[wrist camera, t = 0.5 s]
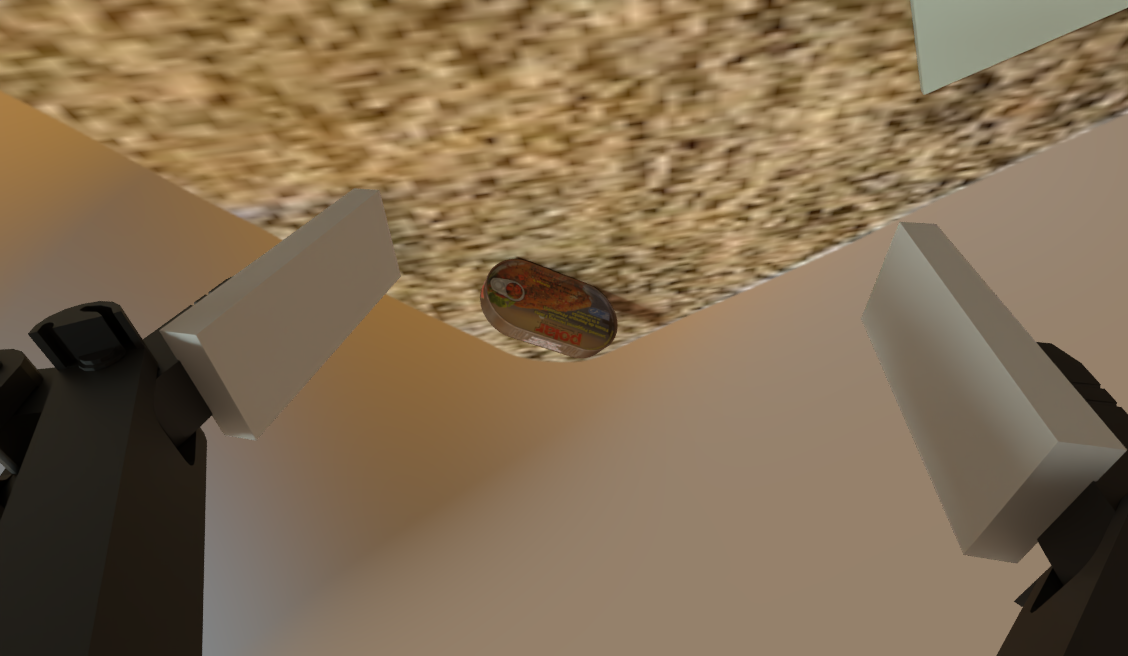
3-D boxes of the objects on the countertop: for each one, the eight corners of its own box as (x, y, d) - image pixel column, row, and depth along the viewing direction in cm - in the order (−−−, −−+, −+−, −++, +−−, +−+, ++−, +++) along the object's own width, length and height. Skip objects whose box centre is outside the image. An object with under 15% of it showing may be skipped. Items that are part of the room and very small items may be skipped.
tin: (619, 295, 58) (619, 358, 53) (604, 310, 60) (603, 372, 55) (494, 246, 53) (480, 311, 48) (483, 264, 55) (470, 328, 50)
